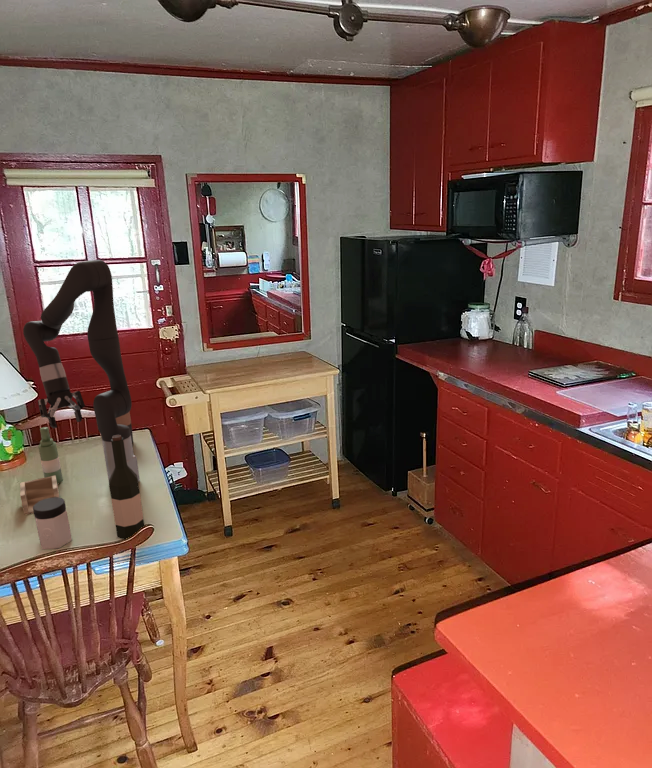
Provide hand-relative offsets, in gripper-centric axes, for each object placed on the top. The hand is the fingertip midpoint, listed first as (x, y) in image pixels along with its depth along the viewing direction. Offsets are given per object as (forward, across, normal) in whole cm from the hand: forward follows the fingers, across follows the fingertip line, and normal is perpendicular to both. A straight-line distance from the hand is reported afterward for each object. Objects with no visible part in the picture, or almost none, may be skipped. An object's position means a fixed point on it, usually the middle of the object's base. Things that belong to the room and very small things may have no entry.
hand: (67, 424), depth 193 cm
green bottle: (+18, -4, +13) cm, 23 cm away
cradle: (+22, -14, +2) cm, 27 cm away
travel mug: (+14, +30, +22) cm, 39 cm away
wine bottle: (+35, -7, -35) cm, 50 cm away
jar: (+31, -23, -22) cm, 45 cm away
